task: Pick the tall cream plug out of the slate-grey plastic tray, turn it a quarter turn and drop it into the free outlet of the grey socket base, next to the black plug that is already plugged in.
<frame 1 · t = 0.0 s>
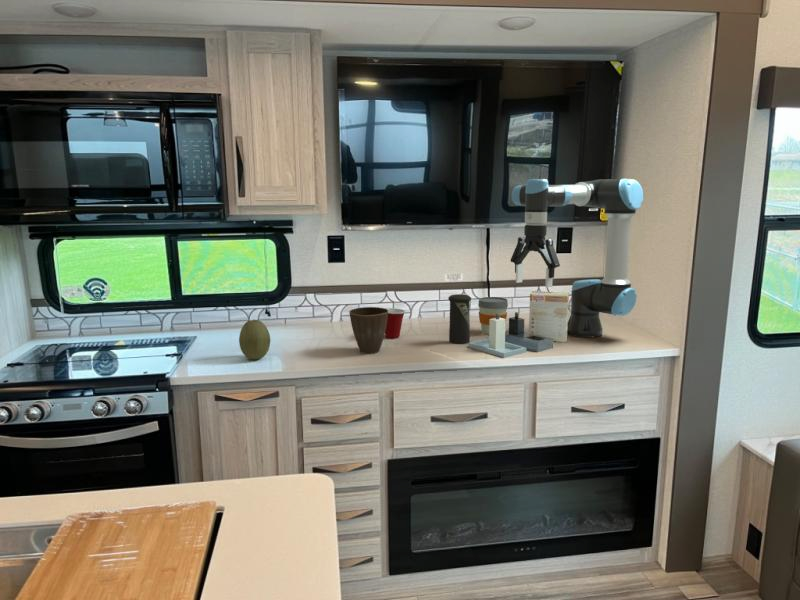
hand: (533, 284, 210), 28 cm above the worktop, tool pointing down, fingers open, 13 cm apart
container: (459, 343, 240), on the worktop
plastic cup: (392, 337, 251), on the worktop
grey socket base: (525, 346, 235), on the worktop
tray: (496, 351, 228), on the worktop
plant pot: (369, 351, 230), on the worktop
coffeecake box: (547, 339, 246), on the worktop
reusable coffee cup: (492, 334, 256), on the worktop
fruit: (255, 359, 221), on the worktop
plug: (496, 349, 228), point 1 cm above the worktop, touching tray
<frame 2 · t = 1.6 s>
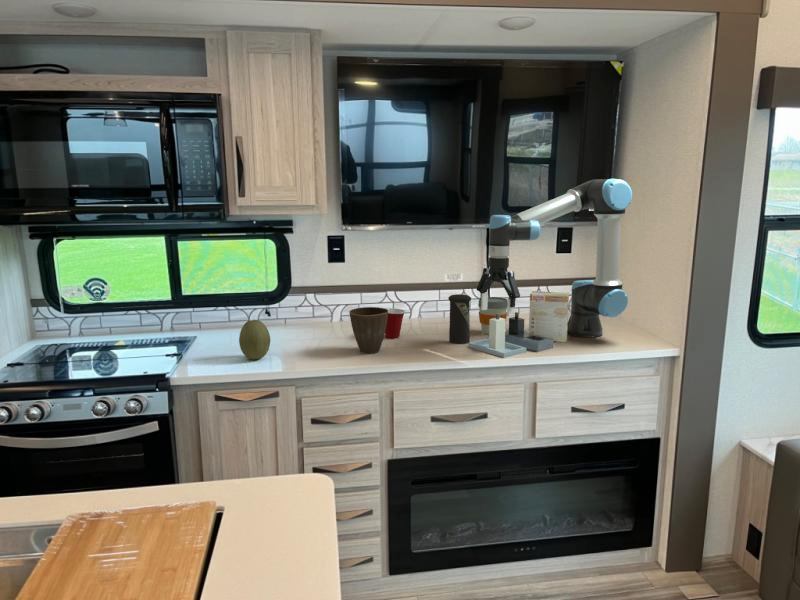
hand: (496, 312, 225), 15 cm above the worktop, tool pointing down, fingers open, 13 cm apart
nothing on the worktop moved.
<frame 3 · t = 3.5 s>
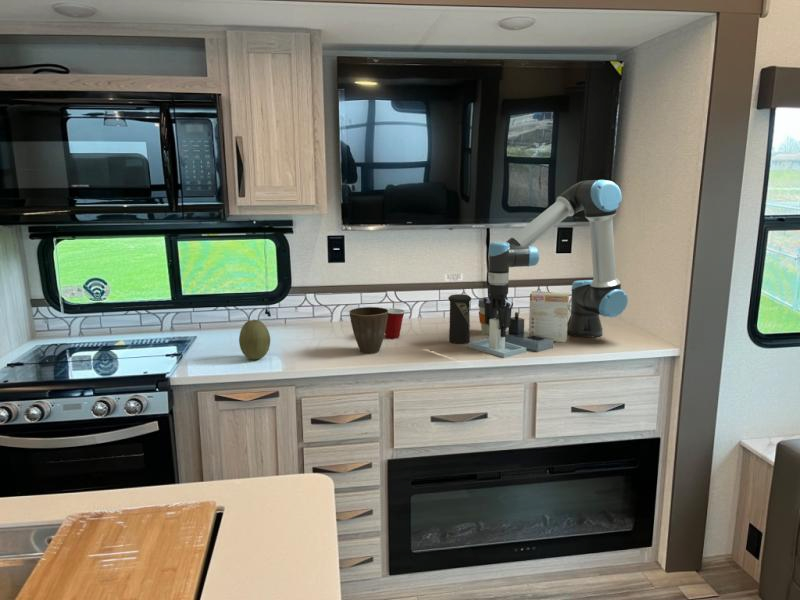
hand: (497, 343, 227), 3 cm above the worktop, tool pointing down, fingers closed on plug, 3 cm apart
plug: (496, 349, 228), point 1 cm above the worktop, touching gripper
everything else where it was.
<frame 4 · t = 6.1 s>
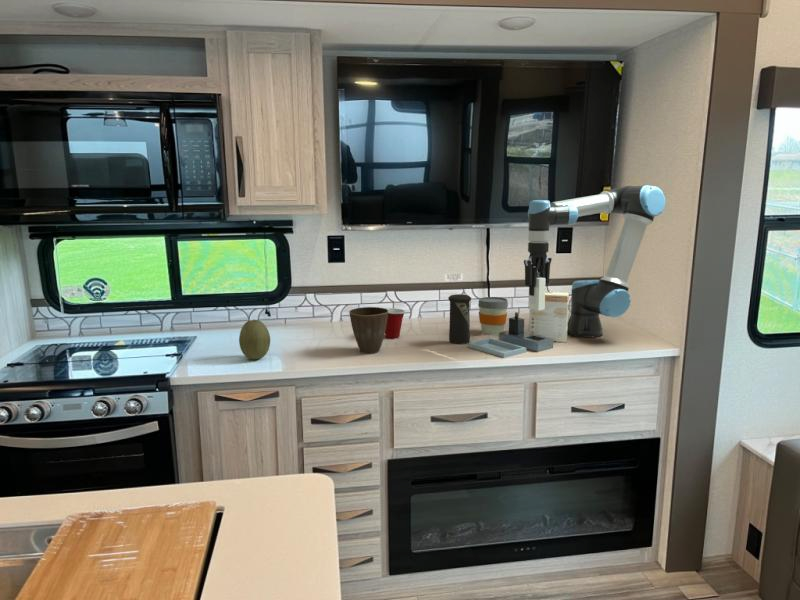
hand: (536, 302, 227), 18 cm above the worktop, tool pointing down, fingers closed on plug, 3 cm apart
plug: (536, 308, 228), point 16 cm above the worktop, touching gripper
everything else where it was.
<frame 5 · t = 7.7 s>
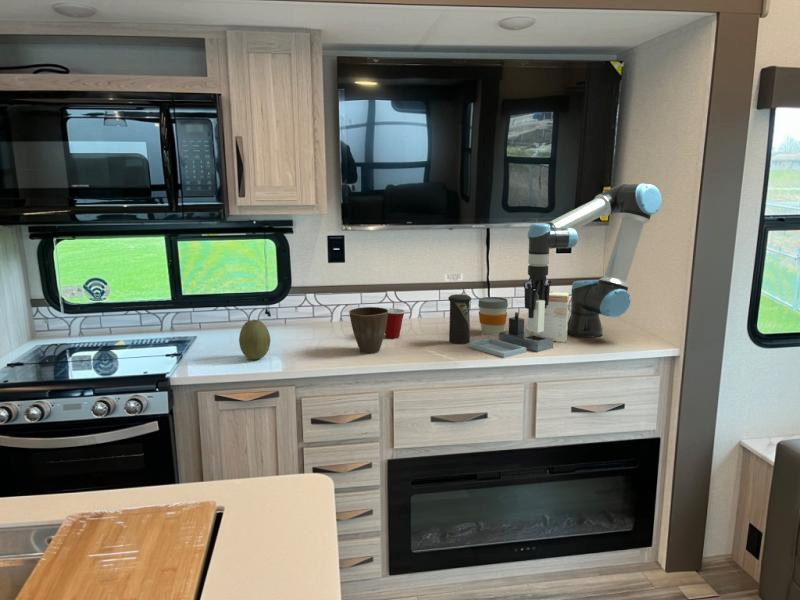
hand: (535, 325, 229), 10 cm above the worktop, tool pointing down, fingers closed on plug, 3 cm apart
plug: (535, 330, 229), point 7 cm above the worktop, touching gripper
everything else where it was.
when the fingers open (8 cm above the worktop, at t = 8.9 s): plug drops 5 cm, resting on grey socket base.
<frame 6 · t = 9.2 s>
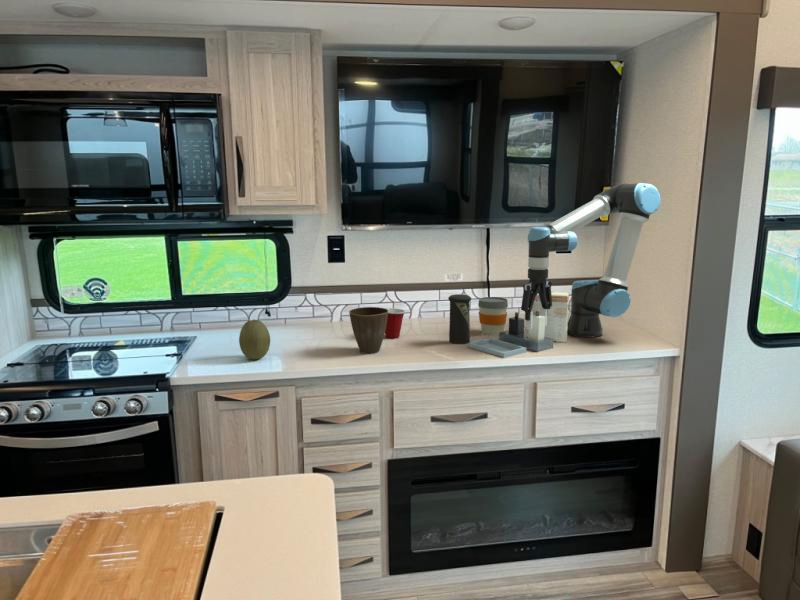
hand: (536, 326, 229), 9 cm above the worktop, tool pointing down, fingers open, 8 cm apart
plug: (535, 346, 230), point 1 cm above the worktop, touching grey socket base
everything else where it was.
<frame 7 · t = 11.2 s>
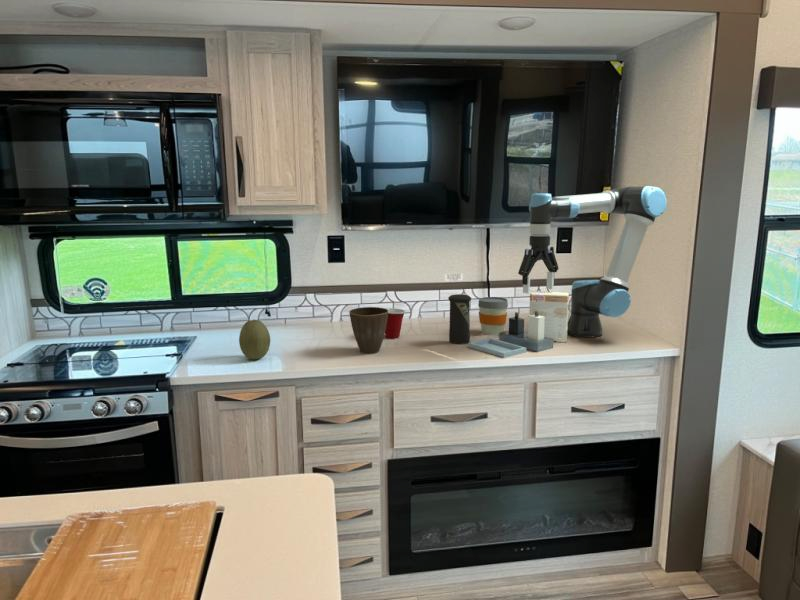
hand: (538, 291, 226), 23 cm above the worktop, tool pointing down, fingers open, 13 cm apart
nothing on the worktop moved.
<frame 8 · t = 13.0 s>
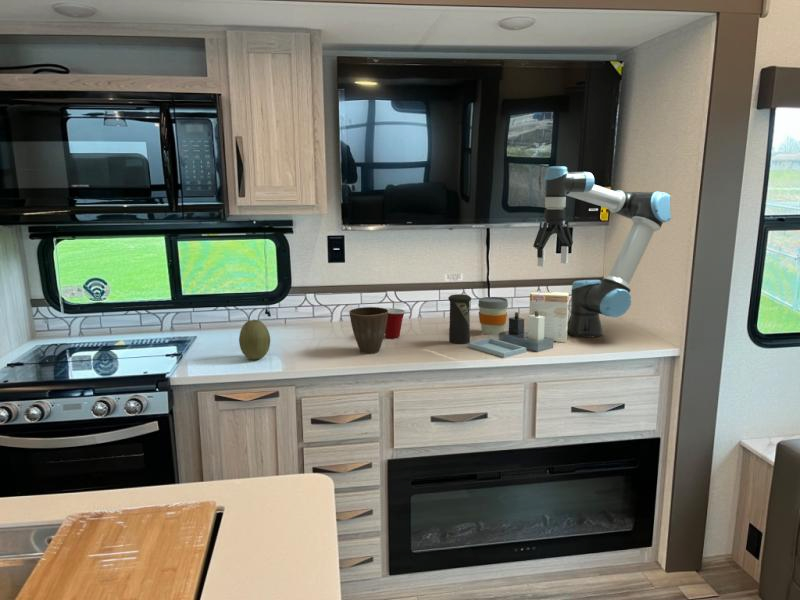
hand: (552, 264, 226), 33 cm above the worktop, tool pointing down, fingers open, 13 cm apart
nothing on the worktop moved.
at the end: plug 0.1 cm from the target spot on the grey socket base, point 1.1 cm above the grey socket base's base; plug tilted 0°; the gripper is holding nothing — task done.
